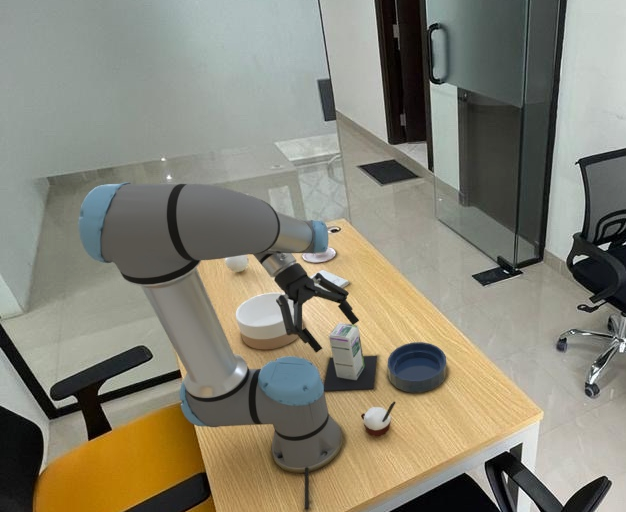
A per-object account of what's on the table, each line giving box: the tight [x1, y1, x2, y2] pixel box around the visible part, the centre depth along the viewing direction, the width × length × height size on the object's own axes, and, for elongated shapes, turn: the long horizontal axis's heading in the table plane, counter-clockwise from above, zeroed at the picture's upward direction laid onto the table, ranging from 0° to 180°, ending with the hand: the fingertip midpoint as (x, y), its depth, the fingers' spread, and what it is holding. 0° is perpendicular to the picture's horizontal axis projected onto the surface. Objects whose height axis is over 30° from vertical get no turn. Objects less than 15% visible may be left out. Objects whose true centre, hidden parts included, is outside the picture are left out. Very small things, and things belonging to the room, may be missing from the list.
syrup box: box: [328, 322, 365, 380], centre depth 130 cm, size 6×6×14 cm
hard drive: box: [309, 269, 350, 292], centre depth 170 cm, size 2×8×12 cm
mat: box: [323, 355, 378, 392], centre depth 134 cm, size 13×13×1 cm
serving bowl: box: [387, 341, 447, 394], centre depth 134 cm, size 16×16×4 cm
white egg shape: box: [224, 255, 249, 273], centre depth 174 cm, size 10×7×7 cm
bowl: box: [234, 292, 304, 350], centre depth 146 cm, size 17×17×8 cm
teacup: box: [302, 246, 337, 264], centre depth 184 cm, size 12×12×6 cm
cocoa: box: [360, 401, 396, 438], centre depth 115 cm, size 10×6×12 cm, turn 40°
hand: (338, 336), depth 128 cm, fingers open, 13 cm apart
